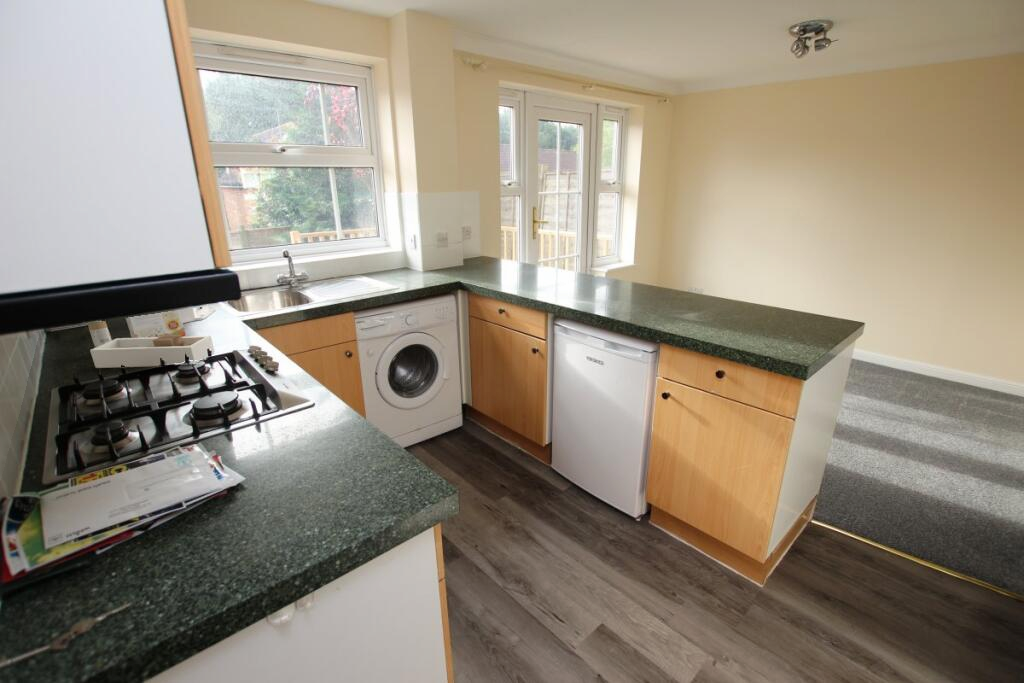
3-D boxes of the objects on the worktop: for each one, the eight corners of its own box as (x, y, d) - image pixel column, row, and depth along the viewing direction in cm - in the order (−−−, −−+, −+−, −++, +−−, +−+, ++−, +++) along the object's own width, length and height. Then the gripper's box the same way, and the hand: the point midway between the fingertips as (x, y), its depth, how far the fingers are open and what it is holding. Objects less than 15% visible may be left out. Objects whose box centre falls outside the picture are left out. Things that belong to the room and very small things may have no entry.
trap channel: (95, 367, 136) (89, 350, 134) (122, 355, 146) (116, 338, 144) (195, 364, 137) (190, 347, 135) (214, 352, 147) (210, 335, 145)
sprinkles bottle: (115, 350, 150) (103, 309, 146) (115, 353, 147) (103, 312, 143) (97, 353, 148) (83, 312, 143) (96, 357, 144) (83, 315, 140)
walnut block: (167, 347, 143) (163, 335, 142) (184, 347, 143) (180, 334, 142) (156, 353, 138) (152, 340, 137) (173, 352, 139) (170, 339, 137)
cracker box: (180, 332, 167) (165, 274, 160) (186, 336, 163) (171, 276, 156) (132, 343, 157) (113, 281, 150) (137, 347, 153) (119, 283, 146)
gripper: (62, 241, 126) (79, 292, 131) (141, 239, 127) (154, 289, 132) (82, 238, 132) (97, 287, 137) (156, 236, 133) (169, 285, 137)
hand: (125, 288), depth 134 cm, fingers open, 8 cm apart
